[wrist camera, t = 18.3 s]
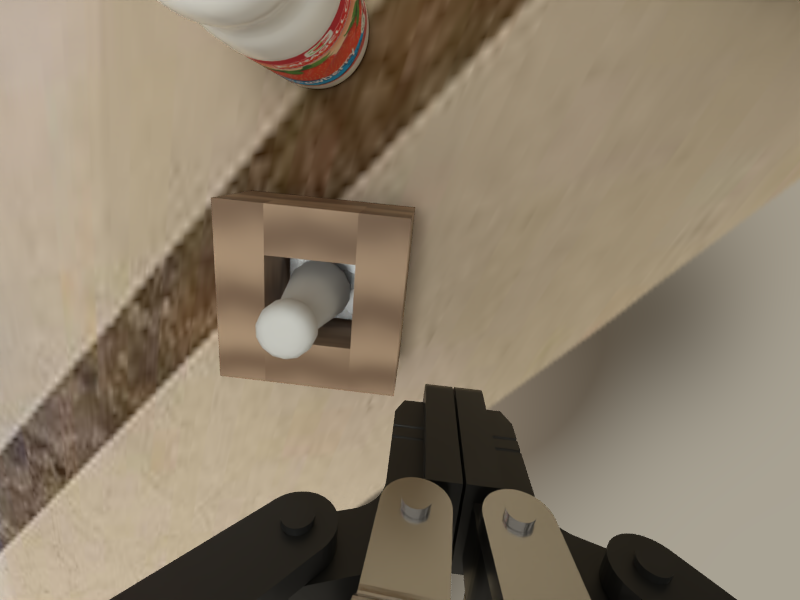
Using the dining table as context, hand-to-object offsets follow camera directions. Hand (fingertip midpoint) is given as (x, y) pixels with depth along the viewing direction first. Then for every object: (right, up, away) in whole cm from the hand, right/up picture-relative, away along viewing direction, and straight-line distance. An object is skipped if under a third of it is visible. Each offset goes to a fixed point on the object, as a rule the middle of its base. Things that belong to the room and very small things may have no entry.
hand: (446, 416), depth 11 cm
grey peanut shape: (-9, +5, +30) cm, 31 cm away
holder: (-8, +5, +32) cm, 33 cm away
